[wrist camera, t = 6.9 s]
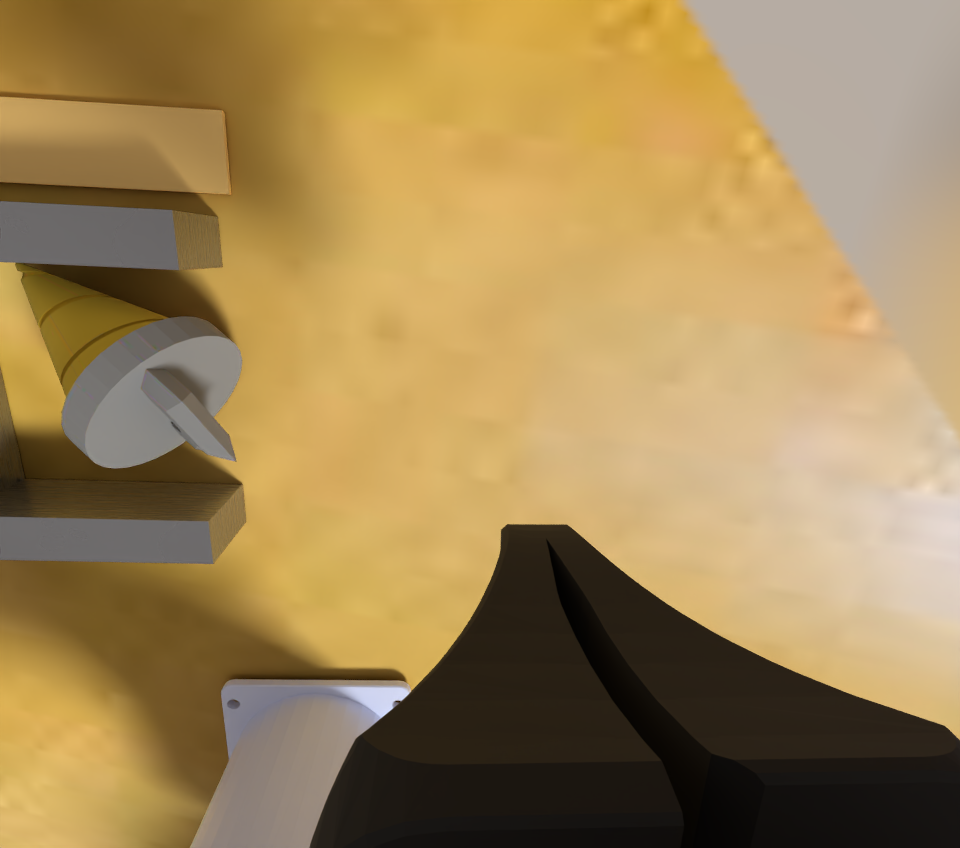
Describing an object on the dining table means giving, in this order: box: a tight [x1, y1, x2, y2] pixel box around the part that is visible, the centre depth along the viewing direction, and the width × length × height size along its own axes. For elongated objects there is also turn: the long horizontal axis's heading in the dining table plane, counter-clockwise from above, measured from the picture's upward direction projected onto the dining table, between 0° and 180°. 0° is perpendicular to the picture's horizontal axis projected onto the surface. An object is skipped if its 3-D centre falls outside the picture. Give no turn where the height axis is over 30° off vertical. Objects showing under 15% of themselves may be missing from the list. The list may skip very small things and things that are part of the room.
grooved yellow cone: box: [15, 263, 242, 468], centre depth 17 cm, size 5×5×10 cm
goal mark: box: [0, 97, 231, 195], centre depth 17 cm, size 2×8×1 cm, turn 87°
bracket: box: [0, 201, 246, 564], centre depth 18 cm, size 11×10×3 cm
